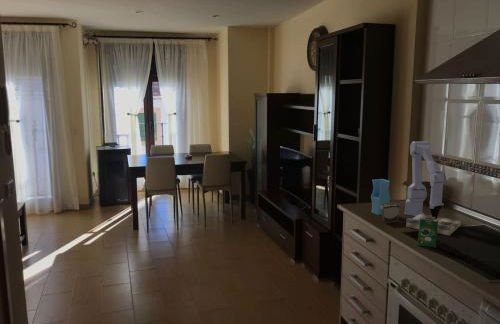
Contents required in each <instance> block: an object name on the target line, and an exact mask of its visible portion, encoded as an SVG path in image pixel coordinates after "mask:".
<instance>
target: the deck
mask: <svg viewBox="0 0 500 324" xmlns="http://www.w3.org/2000/svg"><path fill="white" fill-rule="evenodd" d="M427 216H431V217H432V215H430V214H425V213H424V214H418V215H417V216H413V217H412V218H406V221H405V223H406V224H405V227H406V228H411V229H416V230H419V225H420V218H423V219H425V217H427ZM435 220H438V230H437V234H440V235H444V236H451V235H452V234H453V233H454V232H455V231H456V230H457V229H458V228H460V227H461V225H462V220H459V219H458V220H456V219H453V218H447V217H441V216H438V217H437V219H435Z"/></svg>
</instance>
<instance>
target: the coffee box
mask: <svg viewBox="0 0 500 324" xmlns="http://www.w3.org/2000/svg"><path fill="white" fill-rule="evenodd" d="M437 230H438V220H431V219H423V218H420V225H419V229H418V235H417V236H418V237H417V246H418V247H419V246H420V247H425V248H426V247H427V248H434V249H436V248H437V238H438V237H437V236H438V233H437Z"/></svg>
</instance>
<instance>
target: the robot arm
mask: <svg viewBox="0 0 500 324" xmlns="http://www.w3.org/2000/svg"><path fill="white" fill-rule="evenodd" d="M431 150H432V145H431V143H430V141H429V140H426V141H424V140H423V141H422V140H421V141H412V142H411V143H410V145H409V152H410V153H409V155H410V156H411V160H412V161H411V167H412V168H411V169H412V170H411V171H412V173H411V174H412V179H411V180H412V182H411V184H410V185H409V186H408V187H407V192H406V196H407V198H406V200H405V203H404V213H403V215H407V216H413V217H415V216H417V215H418V214H425V213H424V212H423V207H424V206H423V205H424V201H425V200H426V199H427V197H428V192H427V188H426V186H425V185H424V184H423V181H422V179H423V178H422V158H423V159H424V160H425V161H424V162H426V166H425V167H426V170H427V171H428V174H429V175H430V176H429V182H430V183H429V184H430V186H431V188H430V198H429V205H428V207H429V210H430V213H431V215H430V216H432V217H435V219H437V217H439V214H440V212H441V211H440V210H441V209H442V208H443V206H444V205H445V204H444V203H443V191H444V190H443V189H444V188H443V187H444V184H445V183H446V181H447V176H446V174H445V172H443V171H442V170H441V169H440V167H439V165H438V163H437V162H436V161H434V158H433V156H432V152H431Z"/></svg>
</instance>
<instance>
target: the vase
mask: <svg viewBox="0 0 500 324" xmlns="http://www.w3.org/2000/svg"><path fill="white" fill-rule="evenodd" d="M371 181H372V186H373V187H372V188H373V189H372V193H371V194H370V199H371V213H373V214H374V215H377V216H382V210H381V208H380V207H381V204H382V203H390V201H391V196H390V193H389V187H390V180H387V179H384V178H378V179H372V180H371Z"/></svg>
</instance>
